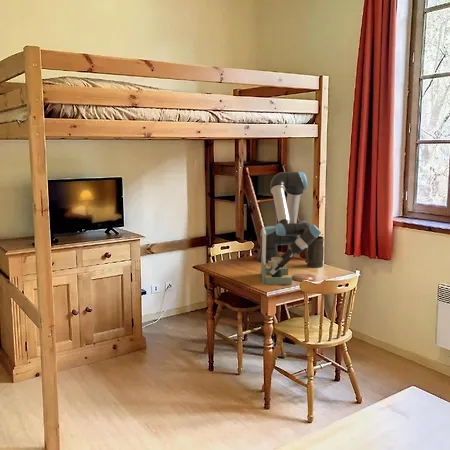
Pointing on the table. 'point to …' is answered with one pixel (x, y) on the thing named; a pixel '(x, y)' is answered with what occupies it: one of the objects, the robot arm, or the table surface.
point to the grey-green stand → (266, 271)
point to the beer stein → (315, 253)
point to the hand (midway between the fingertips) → (270, 271)
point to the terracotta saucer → (304, 277)
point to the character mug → (273, 263)
